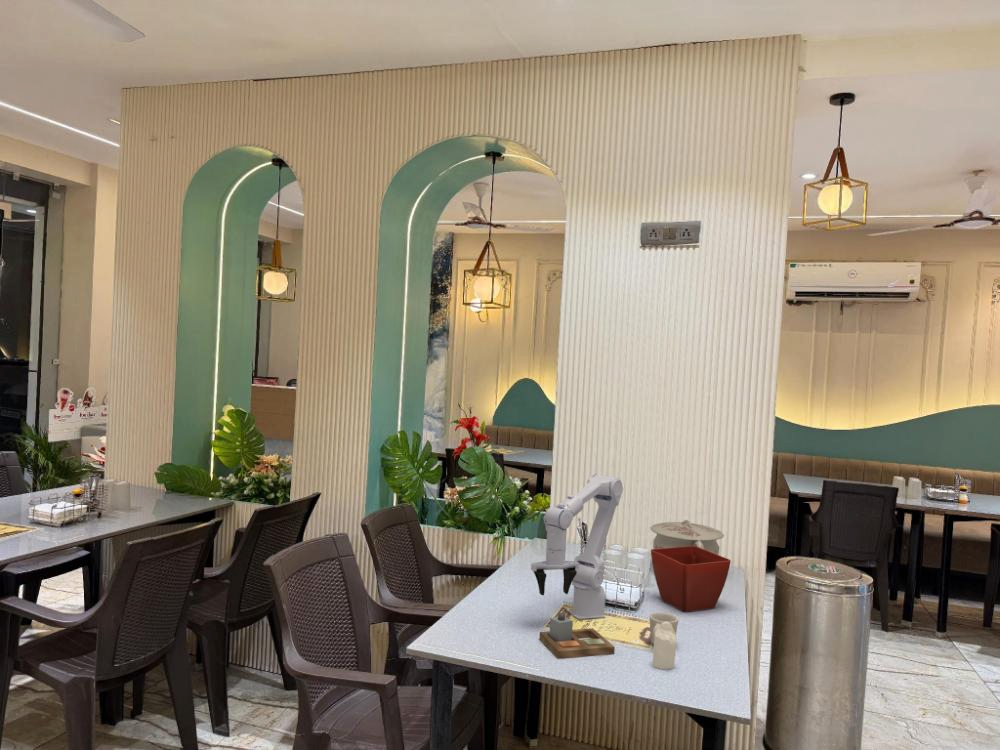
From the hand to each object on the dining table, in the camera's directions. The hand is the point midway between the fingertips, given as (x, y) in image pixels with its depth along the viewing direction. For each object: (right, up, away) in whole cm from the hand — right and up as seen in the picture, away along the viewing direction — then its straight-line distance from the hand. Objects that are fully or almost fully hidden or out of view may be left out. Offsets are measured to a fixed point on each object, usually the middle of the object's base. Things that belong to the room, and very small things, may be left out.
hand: (553, 593), depth 222 cm
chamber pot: (+54, -11, +63) cm, 84 cm away
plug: (+1, -10, -13) cm, 17 cm away
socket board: (+5, -10, -14) cm, 18 cm away
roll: (+27, -12, -24) cm, 39 cm away
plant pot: (+47, -12, +27) cm, 55 cm away
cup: (+29, -12, -11) cm, 34 cm away
